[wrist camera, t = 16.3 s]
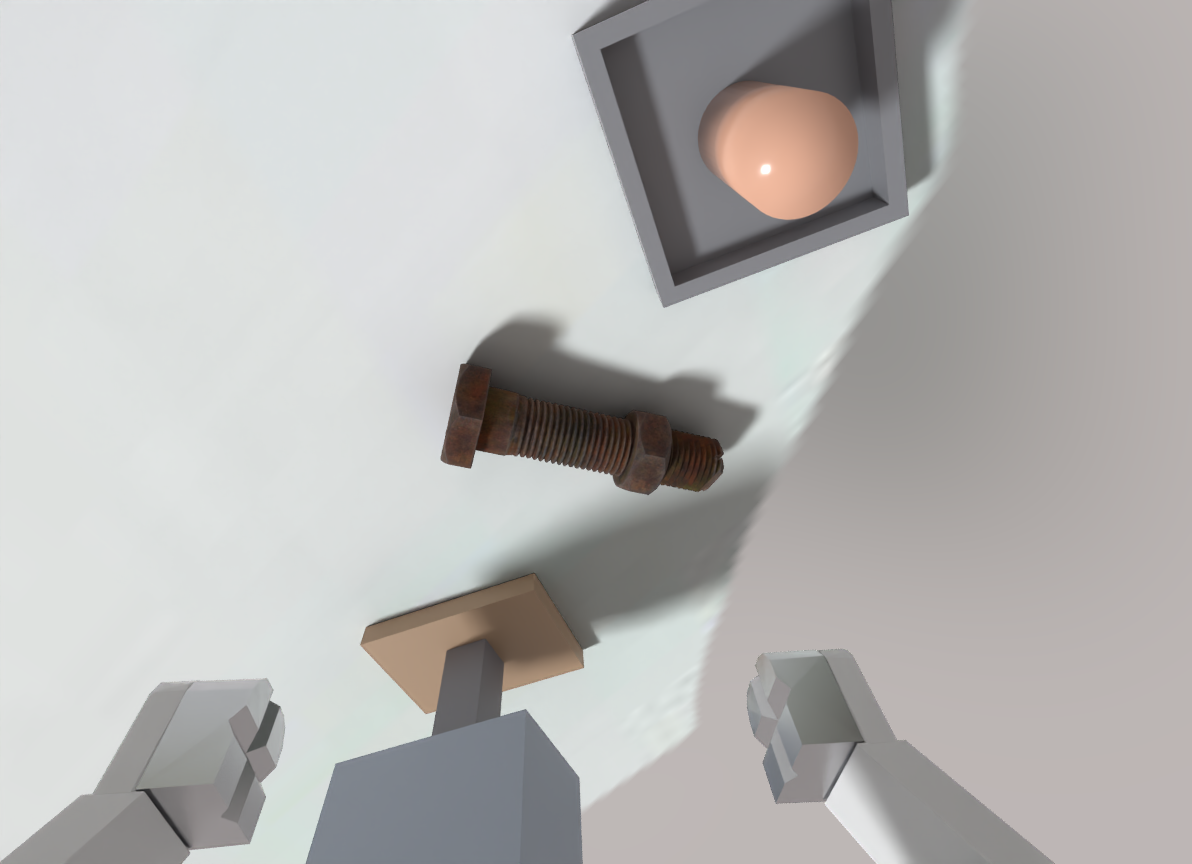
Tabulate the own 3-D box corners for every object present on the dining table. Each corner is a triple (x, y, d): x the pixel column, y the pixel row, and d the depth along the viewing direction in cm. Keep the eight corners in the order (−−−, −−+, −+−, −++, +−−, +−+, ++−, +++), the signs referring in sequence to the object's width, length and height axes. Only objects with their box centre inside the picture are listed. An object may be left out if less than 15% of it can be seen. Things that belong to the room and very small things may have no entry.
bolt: (693, 440, 38) (455, 388, 34) (733, 402, 34) (466, 338, 30) (694, 528, 35) (435, 481, 32) (738, 499, 31) (444, 440, 27)
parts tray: (571, 35, 24) (572, 34, 22) (855, -95, 23) (882, -107, 21) (656, 292, 30) (663, 307, 29) (885, 204, 29) (908, 215, 27)
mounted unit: (365, 627, 42) (259, 962, 27) (534, 573, 41) (524, 899, 25) (433, 700, 47) (375, 1018, 32) (585, 655, 46) (603, 969, 30)
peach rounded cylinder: (687, 103, 25) (727, 120, 19) (779, 64, 25) (850, 69, 19) (710, 196, 27) (754, 236, 22) (796, 162, 27) (865, 194, 21)
